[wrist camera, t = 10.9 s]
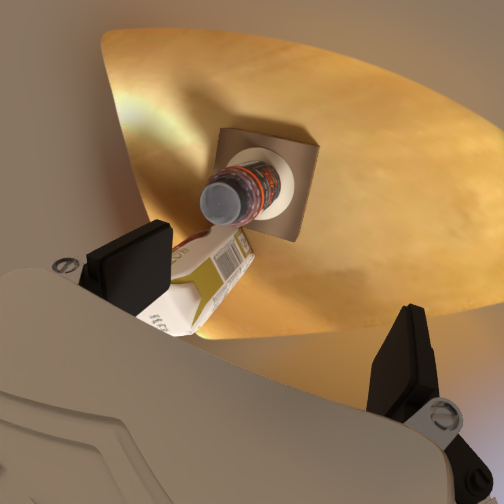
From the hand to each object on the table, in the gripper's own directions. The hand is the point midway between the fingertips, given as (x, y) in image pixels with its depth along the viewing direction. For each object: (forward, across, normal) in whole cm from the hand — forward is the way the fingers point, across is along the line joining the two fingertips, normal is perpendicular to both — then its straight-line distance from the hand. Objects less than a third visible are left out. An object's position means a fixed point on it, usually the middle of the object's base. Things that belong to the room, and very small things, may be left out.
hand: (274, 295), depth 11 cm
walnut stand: (+28, +10, +3) cm, 30 cm away
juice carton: (+28, +14, +14) cm, 34 cm away
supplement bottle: (+25, +10, +3) cm, 27 cm away
